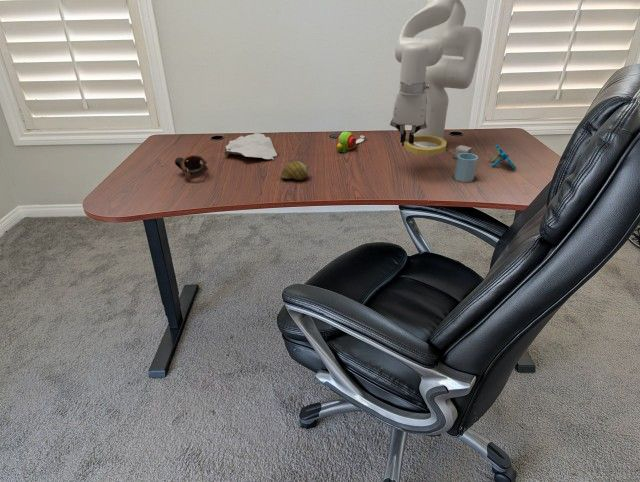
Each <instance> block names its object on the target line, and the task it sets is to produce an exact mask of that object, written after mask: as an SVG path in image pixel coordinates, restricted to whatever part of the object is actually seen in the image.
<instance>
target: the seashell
mask: <svg viewBox="0 0 640 482" xmlns="http://www.w3.org/2000/svg"><path fill="white" fill-rule="evenodd" d="M308 175H309V166H308V165H305V164H304V163H302V162H301V161H300V160H296V161H295V160H294V161H291V162H289V163H287V164H286V165H285V166H284V167H283V169H282V170H281V176H280V179H281V180H292V179H293V180H296V181H303V180H305V179H306V178H307V177H308Z"/></svg>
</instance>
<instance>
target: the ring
mask: <svg viewBox="0 0 640 482" xmlns="http://www.w3.org/2000/svg"><path fill="white" fill-rule="evenodd" d="M415 142H431V143H434V144H438V145H439V146H438V147H434V148H420V147H416V146H414V145H413V144H412V143H411V144H410V143H409V136H408V137H406V139H405V142H404V146H403V149H404V150H405V151H406V152H408V153H410V154H413V155H417V156H427V157H430V156H439V155H441V154H442V153H445V152H446V149H447V144H446V143H448V142H447V140H445V139H444V138H443V139H442V138H440V137H437V136H432V135H414V142H413V143H415Z"/></svg>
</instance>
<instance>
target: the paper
mask: <svg viewBox="0 0 640 482" xmlns="http://www.w3.org/2000/svg"><path fill="white" fill-rule="evenodd" d="M228 142H229V143H228V144H227V145H225V149H226V151H225V152H224V155H225V156H229V155H231V154H232V155H237V156H244V157H248V158H260V159H261V158H262V159H264V160H275V158H274V157H277V156H278V153H277V151H276V149H275V147H274V145H273V142H272V139H271V137H270V136H266V135H265V134H263V133H259V132H254V133H253V134H248V135H245V136H243V135H240V136H239V137H236V139H233V140H229V141H228Z"/></svg>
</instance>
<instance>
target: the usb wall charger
mask: <svg viewBox="0 0 640 482" xmlns="http://www.w3.org/2000/svg"><path fill="white" fill-rule="evenodd" d="M449 152H450V153H453V154H454V158H455V159H457V157H458V154H461V153H471V154H473V147H470V146H466V145H462V144H461V145H459V146H456V148H453V147H452V149H450V150H449Z"/></svg>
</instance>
